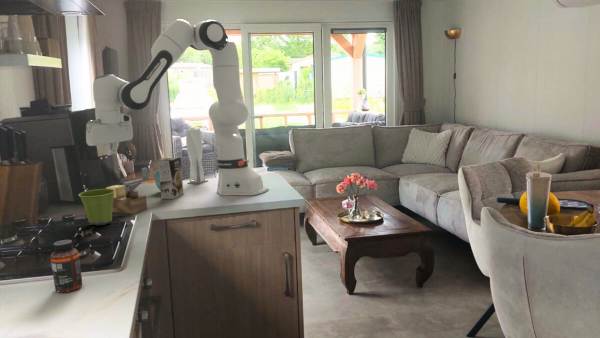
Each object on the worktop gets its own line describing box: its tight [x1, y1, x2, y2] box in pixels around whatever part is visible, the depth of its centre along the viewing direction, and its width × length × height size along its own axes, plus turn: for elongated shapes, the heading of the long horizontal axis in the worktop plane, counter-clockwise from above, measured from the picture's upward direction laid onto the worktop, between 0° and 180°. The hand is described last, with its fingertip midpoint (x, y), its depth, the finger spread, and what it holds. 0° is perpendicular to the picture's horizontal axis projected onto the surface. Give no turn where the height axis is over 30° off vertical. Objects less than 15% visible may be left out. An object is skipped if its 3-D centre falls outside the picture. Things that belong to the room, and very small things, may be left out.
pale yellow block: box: [105, 184, 126, 198], centre depth 203 cm, size 5×5×4 cm
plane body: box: [112, 190, 148, 215], centre depth 202 cm, size 15×8×8 cm, turn 64°
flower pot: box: [152, 170, 161, 192], centre depth 235 cm, size 9×9×9 cm
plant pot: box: [77, 188, 115, 223], centre depth 182 cm, size 12×12×11 cm
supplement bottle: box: [50, 239, 83, 293], centre depth 123 cm, size 6×6×11 cm
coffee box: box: [157, 157, 184, 200], centre depth 222 cm, size 9×6×16 cm
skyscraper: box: [185, 123, 209, 185], centre depth 252 cm, size 8×8×28 cm
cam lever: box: [122, 167, 150, 198], centre depth 204 cm, size 11×2×10 cm, turn 149°
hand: (112, 154), depth 201 cm, fingers closed
